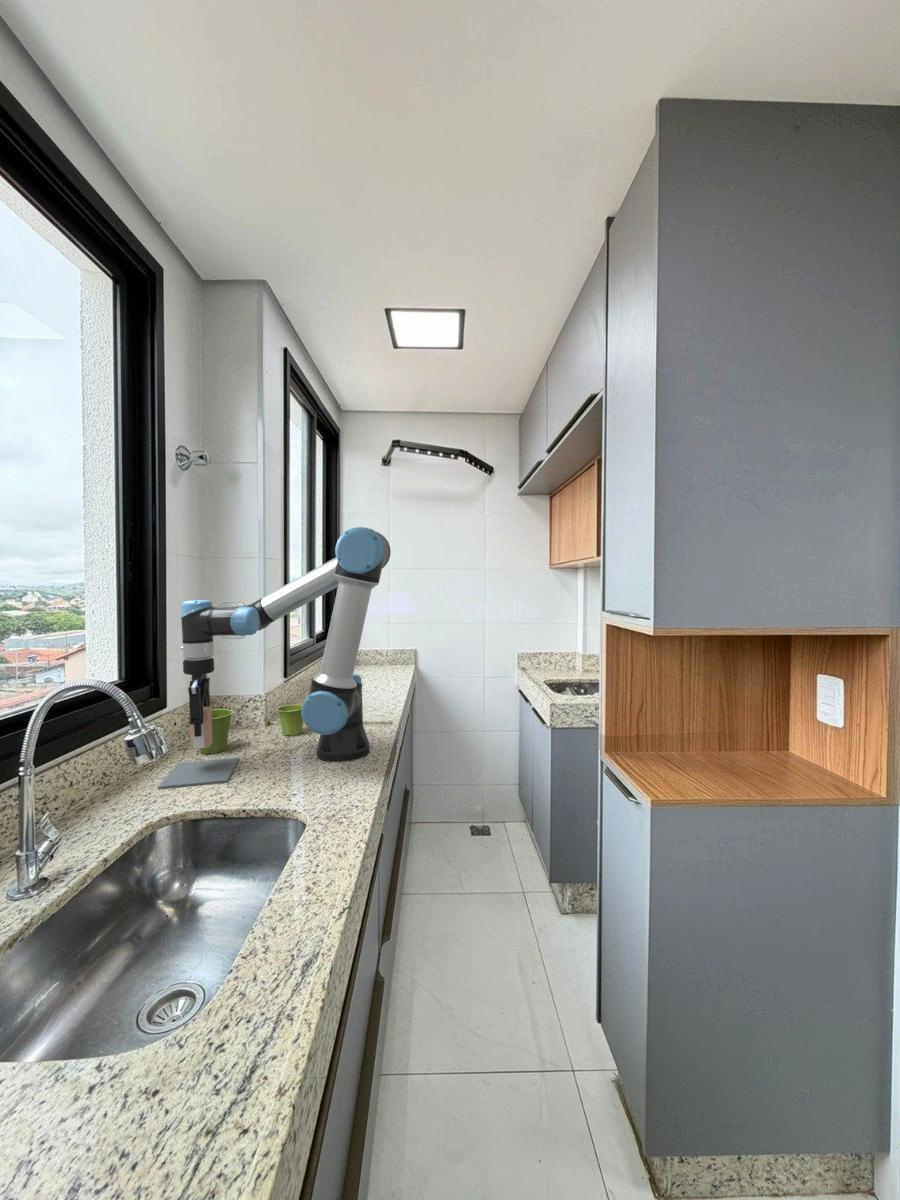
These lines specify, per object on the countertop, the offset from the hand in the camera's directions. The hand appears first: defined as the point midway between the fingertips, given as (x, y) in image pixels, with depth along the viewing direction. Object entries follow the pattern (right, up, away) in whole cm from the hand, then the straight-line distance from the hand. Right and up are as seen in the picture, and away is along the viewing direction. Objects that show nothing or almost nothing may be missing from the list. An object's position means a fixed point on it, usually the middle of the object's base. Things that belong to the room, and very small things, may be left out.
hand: (201, 744), depth 147 cm
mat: (+1, -7, -2) cm, 7 cm away
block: (0, 0, 0) cm, 0 cm away
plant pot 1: (-4, -7, +18) cm, 19 cm away
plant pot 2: (+15, -6, +34) cm, 37 cm away
